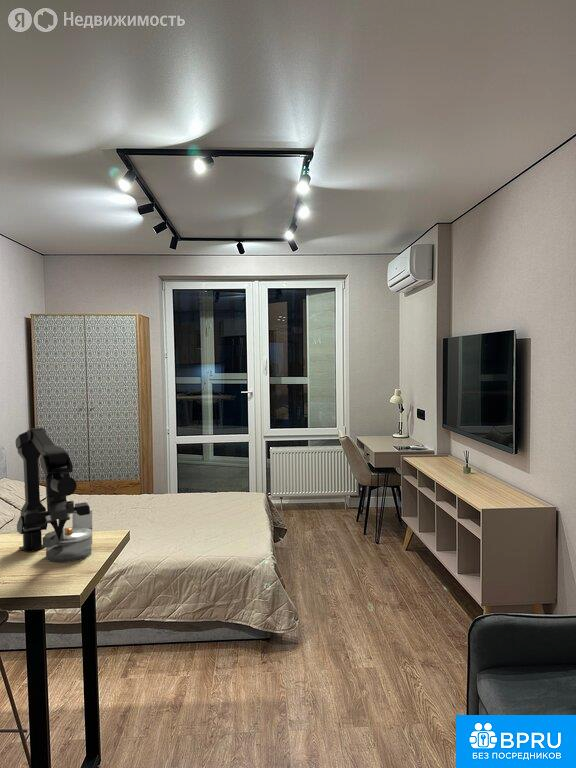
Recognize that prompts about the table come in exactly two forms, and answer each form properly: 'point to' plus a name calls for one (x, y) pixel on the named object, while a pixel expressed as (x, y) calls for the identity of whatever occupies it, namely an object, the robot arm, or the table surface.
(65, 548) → the pot
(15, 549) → the table surface
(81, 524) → the skincare box
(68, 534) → the lid
